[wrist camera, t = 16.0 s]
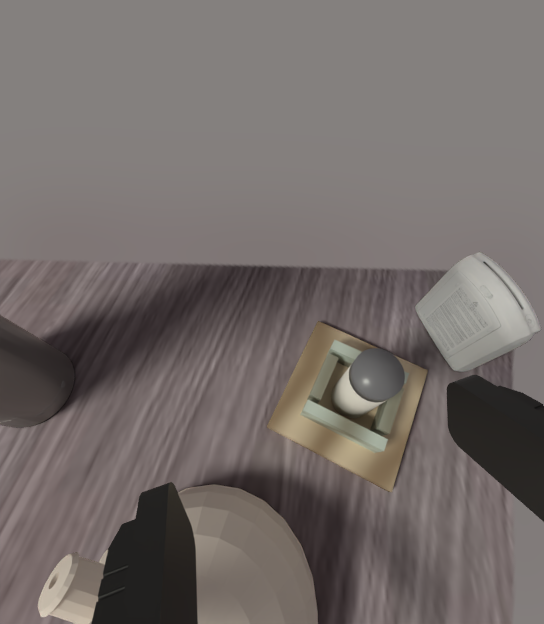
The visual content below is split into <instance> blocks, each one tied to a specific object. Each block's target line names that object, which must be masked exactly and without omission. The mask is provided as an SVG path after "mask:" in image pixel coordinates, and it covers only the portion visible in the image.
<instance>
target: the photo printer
mask: <svg viewBox="0 0 544 624" xmlns="http://www.w3.org/2000/svg"><path fill="white" fill-rule="evenodd" d="M415 309H416V312H417V314H418V316H419V318H420V320H421V321H422V323H423V325H424V326H425V328H426V330H427V331H428V333H429V335H430V336H431V338H432V340H433V341H434V343H435V344H436V346H437V348H438V349H439V351H440V353H441V354H442V355H443V357H444V358H445V360H446V361H447V363H448V364H449V366H450V367H451V368H452V369H453V370H454V371H460V372H466V371H469V370H471V369H474V368H476V367H478V366H480V365H482V364H484V363H486V362H489V361H491V360H493V359H495V358H497V357H499V356H501V355H503V354H505V353H507V352H510V351H512V350H514V349H516V348H518V347H520V346H522V345H523V344H525V343H527V342H528V341H529V340H531V338H532V337H533V336H534V334H536V333H537V332H539V331H541V326H540V323H539V320H538V317H537V315H536V313H535V311H534V309H533V307H532V305H531V304H530V302H529V300H528V298H527V297H526V295H525V294H524V292H523V291H522V290H521V289H520V287H519V286H518V284H517V283H516V282H515V281H514V280H513V278H512V277H511V276H510V275H509V274H508V273H507V272H506V271H505V270H504V269H503V268H502V267H501V266H500V265H499V264H497V263H496V262H495V261H494V260H492V259H491V258H490V257H488V256H487V255H485V254H483V253H481V252H478V253H476V254H473V255H469V256H467V257H465V258H464V259H462V260H460V261H459V262H457V263H456V264H455V265H454V266H453V267H452V268H451V269H450V270H449V271H448V272H447V273H446V274H445V275H444V276H443V277H442V278H441V279H440V280H439V281H438V282H437V283H436V285H435V286H434V287H433V288H432V289H431V290H430V291H429V292H428V293H427V294H426V295H425V296H424V297H423V298H422V299H421V300H420V301H419V303H418V304H417V305H416V306H415Z"/></svg>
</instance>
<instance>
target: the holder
mask: <svg viewBox="0 0 544 624" xmlns="http://www.w3.org/2000/svg"><path fill="white" fill-rule="evenodd" d="M371 348H377V347H375V346H373V345H370V344H368V343H366V342H364V341H361V340H359V339H357V338H355V337H353V336H350V335H348V334H346V333H344V332H341V331H339V330H337V329H335V328H333V327H330V326H328V325H326V324H324V323H322V322H319V321H318V322H317V324H316V326H315V328H314V330H313V332H312V334H311V336H310V338H309V341H308V343H307V345H306V347H305V349H304V351H303V353H302V355H301V357H300V359H299V361H298V363H297V365H296V368H295V370H294V372H293V374H292V376H291V378H290V380H289V382H288V384H287V386H286V388H285V390H284V392H283V394H282V397H281V399H280V401H279V403H278V405H277V407H276V409H275V411H274V413H273V415H272V417H271V419H270V421H269V423H268V426H267V428H269V429H271V430H273V431H275V432H277V433H279V434H280V435H282V436H284V437H286V438H288V439H290V440H292V441H294V442H296V443H297V444H299V445H301V446H303V447H305V448H307V449H309V450H311V451H313V452H314V453H316V454H318V455H320V456H322V457H324V458H326V459H328V460H330V461H331V462H333V463H335V464H337V465H339V466H341V467H343V468H345V469H347V470H348V471H350V472H352V473H354V474H356V475H358V476H360V477H362V478H364V479H366V480H367V481H369V482H371V483H373V484H375V485H377V486H379V487H381V488H383V489H384V490H386V491H388V492H392V490H393V486H394V483H395V479H396V476H397V473H398V469H399V466H400V463H401V459H402V456H403V453H404V449H405V446H406V442H407V439H408V436H409V432H410V429H411V426H412V422H413V419H414V416H415V412H416V409H417V405H418V402H419V399H420V395H421V392H422V389H423V385H424V382H425V379H426V375H427V372H428V370H426V369H424V368H421V367H419V366H417V365H415V364H412V363H410V362H408V361H406V360H404V359H401V358H399V357H397V356H395V355H394V356H395V357H396V358H397V359H398V360H399V361H400V363H401V364H402V367H403V369H404V373H405V381H404V385H403V387H402V389H401V390H400V391H399V393H397V394H396V395H395V396H393V397H391V398H390V399H388V400H387V401H385V402H383V403H382V404H380V405H379V406H377V407H375V408H374V409H372V410H371V411H369V412H367V413H366V414H364V415H363V416H361V417H359V418H347V417H345V416H343V415H341V414H340V413H339V412H338V411H337V410H336V409H335V408H334V406H333V404H332V400H331V393H332V389H333V387H334V386H335V384H336V383H337V382H338V381H339V379H340V378H341V377H342V376H343V374H344V373H345V372H346V370H347V369H348V368H349V367H350V365H351V364H352V363H353V361H354V360H355V359H356V358H357V356H358V355H359V354H360V353H361V352H363V351H365V350H367V349H371Z"/></svg>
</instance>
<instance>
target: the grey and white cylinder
mask: <svg viewBox="0 0 544 624" xmlns="http://www.w3.org/2000/svg"><path fill="white" fill-rule="evenodd" d="M404 381H405V373H404V369H403V367H402V364H401V363H400V361H399V360H398V359H397V358H396V357H395V356H394V355H393V354H392V353H390V352H388V351H386V350H383V349H379V348H371V349H367V350H365V351H363V352H361V353H360V354H359V355H358V356H357V358H356V359H355V360H354V361H353V363H352V364H351V365H350V367H349V368H348V369H347V370H346V372H345V373H344V374H343V376H342V377H341V378H340V379H339V381H338V382H337V383H336V384H335V386H334V387H333V389H332V393H331V400H332V404H333V406H334V408H335V409H336V410H337V411H338V412H339V413H340V414H341V415H343V416H345V417H347V418H359V417H361V416H363V415H364V414H366V413H367V412H369V411H371V410H372V409H374V408H375V407H377V406H379V405H380V404H382V403H383V402H385V401H387V400H388V399H390V398H391V397H393V396H395V395H396V394H397V393H399V391H400V390H401V389H402V387H403V385H404Z"/></svg>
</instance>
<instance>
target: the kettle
mask: <svg viewBox="0 0 544 624" xmlns="http://www.w3.org/2000/svg"><path fill="white" fill-rule="evenodd" d="M178 495H179V497H180V499H181V502H182V504H183V506H184V509H185V511H186V514H187V516H188V518H189V521H190V523H191V526H192V530H193V534H194V539H195V548H196V580H197V617H198V624H318V611H317V603H316V596H315V589H314V582H313V576H312V573H311V571H310V568H309V565H308V562H307V560H306V557H305V554H304V551H303V548H302V546H301V544H300V542H299V541H298V539H297V538H296V536H295V535H294V533H293V532H292V530H291V529H290V527H289V526H288V524H287V522H286V521H285V519H284V518H282V517H281V516H280V515H279V514H278V513H277V512H276V511H275V510H274V509H273V508H272V507H270V506H269V505H268V504H267V503H266V502H265V501H264V500H262V499H260V498H258V497H256V496H254V495H252V494H250V493H248V492H246V491H244V490H242V489H239V488H233V487H227V486H221V485H215V484H213V485H206V486H198V487H191V488H187V489H184V490H182V491H180V492H178ZM107 553H108V550H107V551H106V552H105V553H104V554H103V556H102V558H101V560H100V561H99V562H95V561H92V560H89V559H86V558H82V557H79V554H78V553H77V552H75V553H72V554H69V555H67V556H65V557H64V558H63V559H62V560H61V561H60V562H59V564H58V565H57V566H56V567H55V569H54V570H53V572H52V573H51V575H50V576H49V578H48V580H47V582H46V584H45V586H44V588H43V590H42V593H41V595H40V598H39V603H38V609H39V612H40V615H41V617H46V616H48V615H52V616H55V617H58V618H61V619H64V620H67V621H70V622H73V623H74V624H91V623H92V619H93V614H94V610H95V606H96V602H98V592H99V588H100V584H101V579H103V570H104V566H105V562H106V557H107Z"/></svg>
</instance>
